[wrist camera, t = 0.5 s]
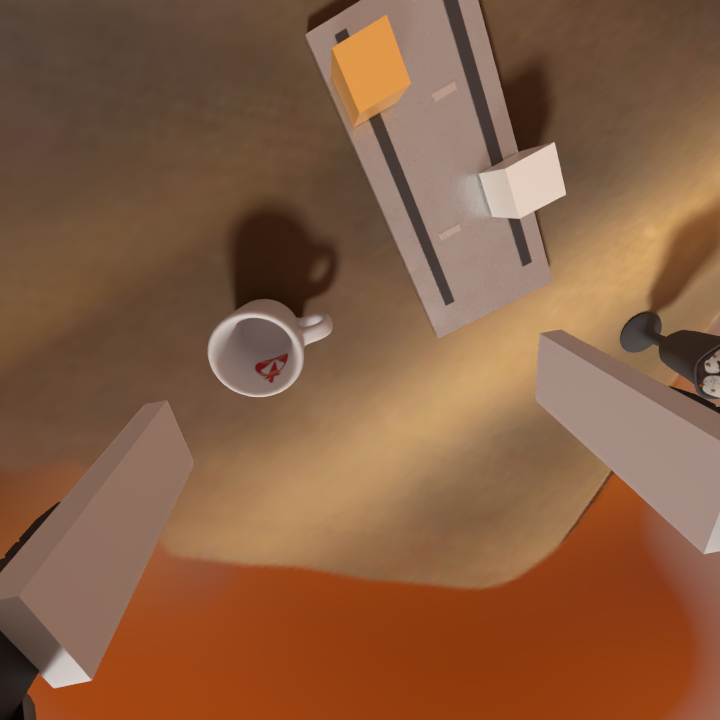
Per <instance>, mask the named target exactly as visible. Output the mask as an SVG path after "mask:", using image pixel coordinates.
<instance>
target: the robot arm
mask: <svg viewBox="0 0 720 720" xmlns="http://www.w3.org/2000/svg"><path fill="white" fill-rule="evenodd" d="M535 400H536V401H537V402H538V403H539V404H540V405H541V406H543V407H544V408H545V409H546V410H547V411H548V412H549V413H550V414H551V415H552V416H553V417H555V418H556V419H557V420H558V421H559V422H560V423H561V424H562V425H563V426H564V427H565V428H567V429H568V430H569V431H570V432H571V433H572V434H573V435H574V436H575V437H576V438H577V439H579V440H580V441H581V442H582V443H583V444H584V445H585V446H586V447H587V448H588V449H589V450H591V451H592V452H593V453H594V454H595V455H596V456H597V457H598V458H599V459H600V460H601V461H603V462H604V463H605V464H606V465H607V466H608V467H609V468H610V469H611V470H612V471H613V472H615V473H616V474H617V475H618V476H619V477H620V478H621V479H622V480H623V481H625V482H626V483H627V484H628V485H629V486H630V487H631V488H632V489H633V490H634V491H635V492H636V493H638V494H639V495H640V496H641V497H642V498H643V499H644V500H645V501H646V502H647V503H649V505H651V506H652V507H653V508H654V509H655V510H656V511H657V512H658V513H659V514H660V515H661V516H663V517H664V518H665V519H666V520H667V521H668V522H669V523H671V525H672V526H673V527H675V528H676V529H677V530H678V531H679V532H680V533H681V534H682V535H683V536H684V537H686V538H687V539H688V540H689V541H690V542H691V543H692V544H693V545H694V546H695V547H696V548H698V549H699V550H700V551H701V552H702V553H703V554H707V553H712V552H716V551H720V407H716V406H715V404H713V403H711V402H710V401H708V400H706V399H704V398H702V397H700V396H698V395H696V394H693V393H690V392H687V391H684V390H681V389H677V388H674V387H671V386H666V385H664V384H662V383H660V382H659V381H657V380H655V379H653V378H651V377H649V376H647V375H645V374H643V373H642V372H640V371H638V370H636V369H634V368H632V367H630V366H628V365H626V364H625V363H623V362H621V361H619V360H617V359H615V358H613V357H611V356H609V355H608V354H606V353H604V352H602V351H600V350H598V349H596V348H594V347H592V346H591V345H589V344H587V343H585V342H583V341H581V340H579V339H577V338H576V337H574V336H572V335H570V334H568V333H566V332H564V331H562V330H555V331H550V332H544V333H540V336H539V351H538V365H537V380H536V395H535ZM193 465H194V461H193V459H192V456H191V454H190V452H189V449H188V447H187V445H186V442H185V440H184V438H183V436H182V433H181V431H180V429H179V426H178V424H177V422H176V419H175V417H174V415H173V413H172V410H171V408H170V406H169V403H168V401H167V400H166V401H160V402H155V403H149V404H144V406H143V407H142V408H141V409H140V410H139V411H138V413H137V414H136V415H135V416H134V417H133V418H132V420H131V421H130V422H129V423H128V424H127V425H126V427H125V428H124V429H123V430H122V431H121V432H120V434H119V435H118V436H117V437H116V438H115V439H114V441H113V442H112V443H111V444H110V445H109V446H108V448H107V449H106V450H105V451H104V452H103V453H102V455H101V456H100V457H99V458H98V459H97V460H96V462H95V463H94V464H93V465H92V466H91V467H90V469H89V470H88V471H87V472H86V473H85V474H84V476H83V477H82V478H81V479H80V481H79V482H78V483H77V484H76V485H75V486H74V487H73V488H72V490H71V491H70V492H69V493H68V494H67V495H66V497H65V498H64V499H63V500H62V501H61V502H58V503H57V504H55V505H54V506H53V507H52V508H50V509H49V510H48V511H46V512H45V513H44V514H43V515H42V516H40V517H39V518H38V519H36V520H35V521H34V523H33V524H32V525H31V526H30V527H29V529H27V530H26V532H25V533H24V534H23V535H22V536H21V537H20V538H19V539H20V541H19V542H16V543H15V544H14V545H13V546H12V548H11V549H10V550H9V551H8V552H7V553H6V554H5V558H4V559H1V560H0V720H36V713H35V705H34V703H33V701H32V699H31V697H30V696H29V695H28V694H27V691H28V689H29V688H30V686H31V684H32V683H33V680H34V679H35V678H36V676H37V674H38V673H39V674H40V675H41V676H42V677H43V678H44V679H45V680H46V681H47V682H48V683H49V684H50V685H51V686H52V687H53V688H58V687H62V686H67V685H72V684H77V683H82V682H87V681H91V680H92V679H93V677H94V675H95V673H96V671H97V669H98V666H99V664H100V662H101V660H102V658H103V656H104V654H105V652H106V649H107V647H108V645H109V643H110V641H111V639H112V637H113V634H114V632H115V630H116V628H117V626H118V624H119V622H120V620H121V618H122V616H123V613H124V611H125V609H126V607H127V605H128V603H129V601H130V599H131V597H132V595H133V592H134V590H135V588H136V586H137V584H138V582H139V580H140V577H141V575H142V573H143V571H144V569H145V567H146V565H147V563H148V561H149V559H150V556H151V554H152V552H153V550H154V548H155V546H156V544H157V542H158V540H159V537H160V535H161V533H162V531H163V529H164V527H165V525H166V523H167V520H168V518H169V516H170V514H171V512H172V510H173V508H174V506H175V504H176V501H177V499H178V497H179V495H180V493H181V491H182V489H183V487H184V485H185V482H186V480H187V478H188V476H189V474H190V472H191V470H192V468H193Z"/></svg>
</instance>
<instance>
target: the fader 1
mask: <svg viewBox="0 0 720 720" xmlns="http://www.w3.org/2000/svg"><path fill="white" fill-rule="evenodd" d="M330 74H331V77H332V79H333V81H334V84H335V86H336V88H337V91H338V93H339V95H340V98H341V100H342V102H343V105H344V107H345V109H346V112H347V114H348V116H349V119H350V121H351V123H352V126H353V128H354V127H355V126H357V125H359V124H361V123H362V122H364V121H366V120H367V119H369V118H371V117H373V116H374V115H376V114H378V113H380V112H381V111H383V110H385V109H387V108H388V107H390V106H392V105H393V104H395V103H397V102H398V100H399V99H400V98H401V96H402V95H403V94H404V92H405V91H406V90H407V88H408V87H409V86H410V84H411V82H410V79H409V76H408V73H407V71H406V68H405V65H404V62H403V59H402V56H401V54H400V51H399V48H398V45H397V42H396V39H395V37H394V34H393V31H392V28H391V25H390V22H389V20H388V17H387V15H385V16H384V17H382V18H380V19H379V20H377V21H375V22H374V23H372V24H370V25H369V26H367V27H365V28H364V29H362V30H360V31H359V32H357V33H356V34H354V35H352V36H351V37H349V38H347V39H346V40H344V41H342V42H341V43H339V44H337V45H336V46H334V47H332V54H331V68H330Z"/></svg>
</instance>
